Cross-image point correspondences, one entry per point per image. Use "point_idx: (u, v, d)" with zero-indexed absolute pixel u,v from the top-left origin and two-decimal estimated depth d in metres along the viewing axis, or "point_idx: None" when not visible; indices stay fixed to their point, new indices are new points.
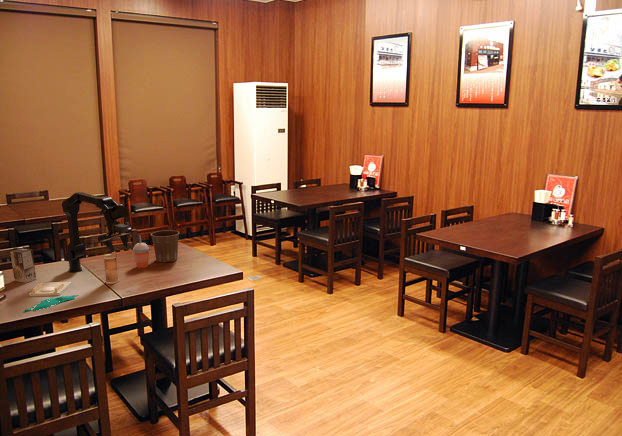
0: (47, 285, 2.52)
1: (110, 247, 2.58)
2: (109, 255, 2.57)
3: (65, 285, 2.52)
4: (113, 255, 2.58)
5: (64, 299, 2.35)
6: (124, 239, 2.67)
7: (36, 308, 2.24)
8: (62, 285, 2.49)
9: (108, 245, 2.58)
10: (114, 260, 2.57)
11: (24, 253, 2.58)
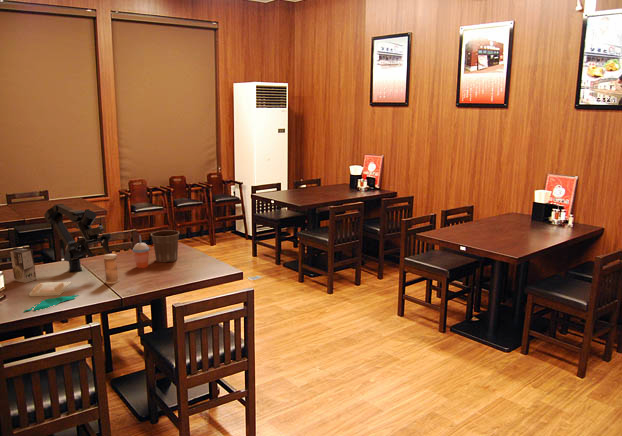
0: (47, 285, 2.52)
1: (88, 252, 2.59)
2: (109, 255, 2.57)
3: (65, 285, 2.52)
4: (113, 255, 2.58)
5: (64, 299, 2.35)
6: (105, 245, 2.68)
7: (36, 308, 2.24)
8: (62, 285, 2.49)
9: (86, 251, 2.59)
10: (114, 260, 2.57)
11: (24, 253, 2.58)
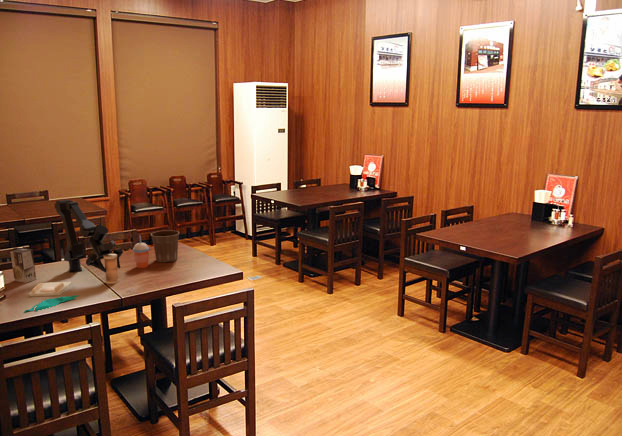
0: (47, 285, 2.52)
1: (101, 267, 2.55)
2: (110, 255, 2.57)
3: (65, 285, 2.52)
4: (113, 255, 2.58)
5: (65, 299, 2.34)
6: None
7: (37, 308, 2.24)
8: (62, 285, 2.49)
9: (99, 266, 2.56)
10: (114, 260, 2.57)
11: (24, 253, 2.58)
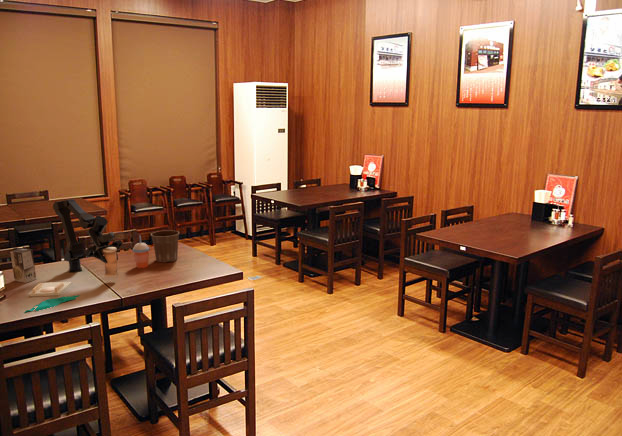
0: (47, 285, 2.52)
1: (102, 258, 2.55)
2: (109, 249, 2.56)
3: (65, 285, 2.52)
4: (113, 248, 2.57)
5: (65, 299, 2.34)
6: None
7: (37, 308, 2.24)
8: (62, 285, 2.49)
9: (100, 257, 2.56)
10: (114, 253, 2.56)
11: (24, 253, 2.58)
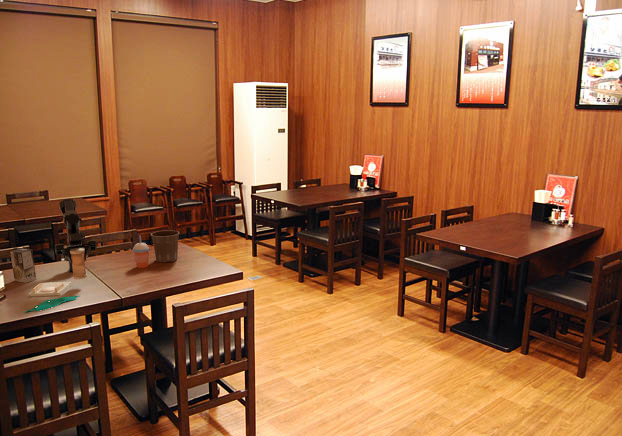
0: (47, 285, 2.52)
1: (68, 257, 2.48)
2: (76, 250, 2.48)
3: (65, 285, 2.52)
4: (80, 250, 2.48)
5: (66, 299, 2.34)
6: (84, 252, 2.53)
7: (38, 309, 2.23)
8: (62, 285, 2.49)
9: (67, 256, 2.49)
10: (79, 255, 2.47)
11: (24, 253, 2.58)
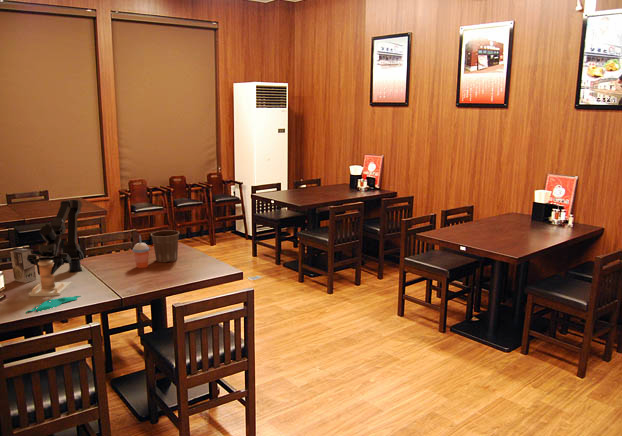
0: None
1: None
2: (44, 261, 2.43)
3: (65, 285, 2.52)
4: (46, 262, 2.42)
5: (66, 300, 2.34)
6: None
7: (38, 309, 2.23)
8: (62, 285, 2.49)
9: None
10: (44, 267, 2.41)
11: (24, 253, 2.58)
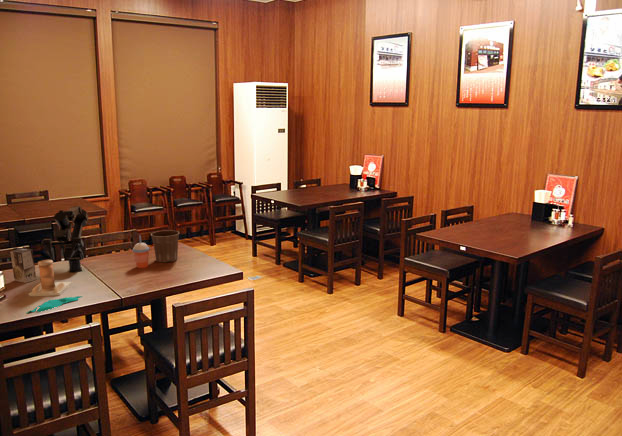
0: None
1: None
2: (44, 261, 2.43)
3: (65, 285, 2.52)
4: (46, 262, 2.42)
5: (67, 300, 2.33)
6: None
7: (39, 309, 2.23)
8: (62, 285, 2.49)
9: None
10: (44, 267, 2.41)
11: (24, 253, 2.58)
